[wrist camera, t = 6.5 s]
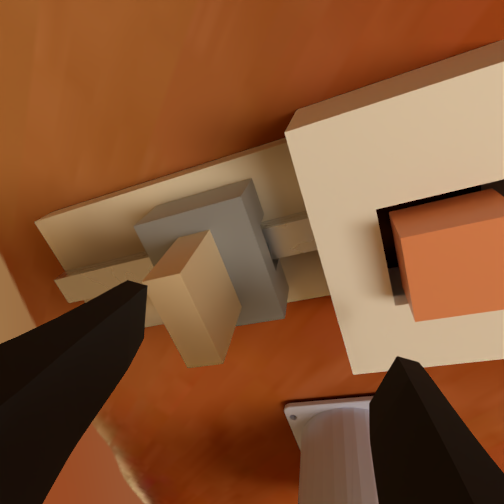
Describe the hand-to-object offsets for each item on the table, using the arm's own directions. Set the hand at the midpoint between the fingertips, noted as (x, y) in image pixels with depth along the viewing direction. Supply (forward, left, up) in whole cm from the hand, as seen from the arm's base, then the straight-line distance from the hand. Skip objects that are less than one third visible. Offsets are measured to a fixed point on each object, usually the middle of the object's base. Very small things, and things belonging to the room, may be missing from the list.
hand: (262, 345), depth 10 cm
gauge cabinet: (0, -6, -9) cm, 11 cm away
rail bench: (0, +6, -9) cm, 11 cm away
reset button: (0, -6, -4) cm, 7 cm away
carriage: (0, +3, -8) cm, 8 cm away
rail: (0, +6, -8) cm, 10 cm away
